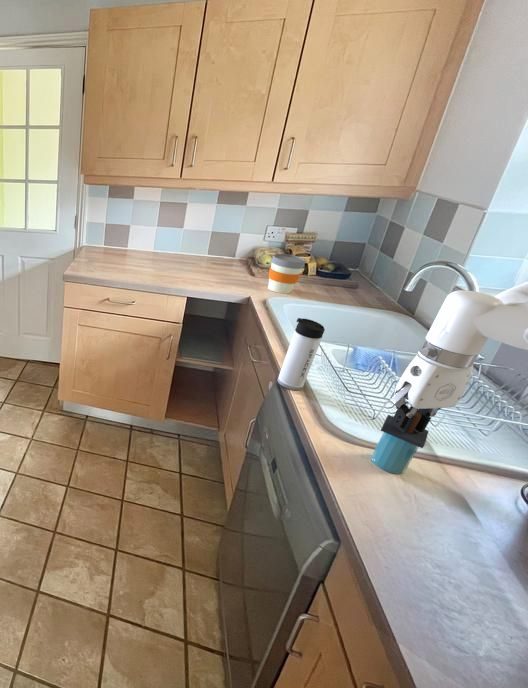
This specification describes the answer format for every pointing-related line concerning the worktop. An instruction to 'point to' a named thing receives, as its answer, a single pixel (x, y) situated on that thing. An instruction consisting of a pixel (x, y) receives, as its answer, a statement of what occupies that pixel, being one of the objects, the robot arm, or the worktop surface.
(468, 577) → the worktop surface
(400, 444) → the cup
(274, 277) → the reusable coffee cup
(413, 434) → the dark grey flat slab
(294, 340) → the travel mug
